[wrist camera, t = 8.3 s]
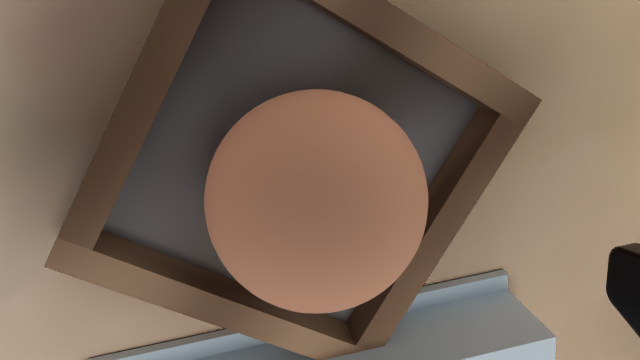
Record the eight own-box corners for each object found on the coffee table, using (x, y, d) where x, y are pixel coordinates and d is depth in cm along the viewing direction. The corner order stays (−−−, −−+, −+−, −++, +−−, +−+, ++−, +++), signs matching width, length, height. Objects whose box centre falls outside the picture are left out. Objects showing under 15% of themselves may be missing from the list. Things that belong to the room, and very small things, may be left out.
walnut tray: (507, 89, 18) (541, 100, 16) (351, 341, 20) (365, 376, 18) (214, -95, 14) (214, -109, 12) (62, 236, 17) (43, 266, 15)
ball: (417, 127, 17) (518, 187, 12) (331, 274, 18) (385, 392, 13) (258, 39, 15) (288, 59, 10) (172, 209, 16) (155, 316, 11)
